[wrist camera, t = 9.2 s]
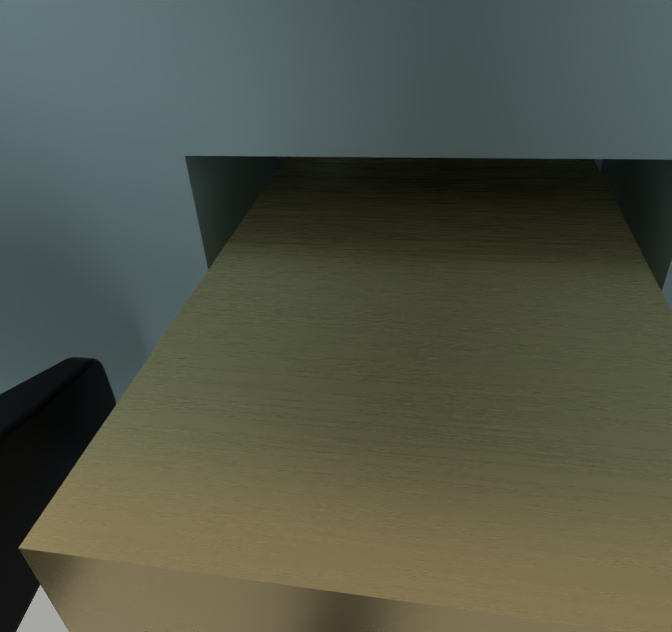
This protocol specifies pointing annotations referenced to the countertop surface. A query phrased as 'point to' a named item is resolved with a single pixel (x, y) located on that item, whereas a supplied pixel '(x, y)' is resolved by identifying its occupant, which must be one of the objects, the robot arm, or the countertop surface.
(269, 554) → the brass pin
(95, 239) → the hole block
